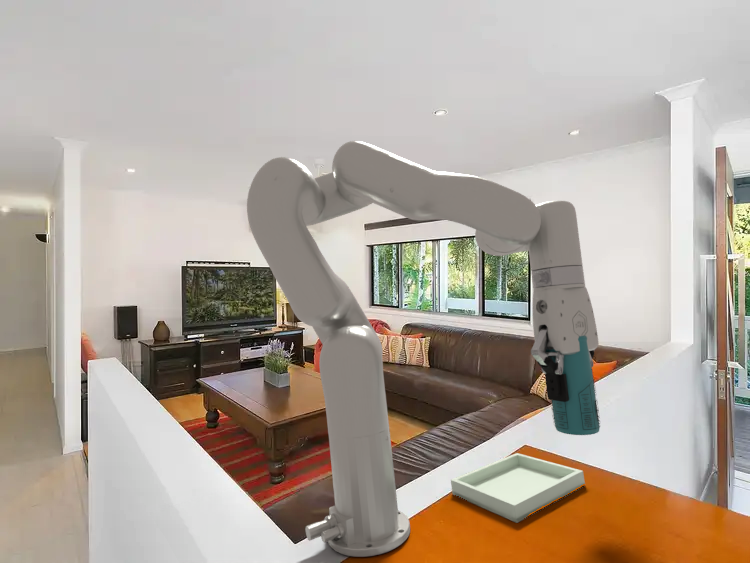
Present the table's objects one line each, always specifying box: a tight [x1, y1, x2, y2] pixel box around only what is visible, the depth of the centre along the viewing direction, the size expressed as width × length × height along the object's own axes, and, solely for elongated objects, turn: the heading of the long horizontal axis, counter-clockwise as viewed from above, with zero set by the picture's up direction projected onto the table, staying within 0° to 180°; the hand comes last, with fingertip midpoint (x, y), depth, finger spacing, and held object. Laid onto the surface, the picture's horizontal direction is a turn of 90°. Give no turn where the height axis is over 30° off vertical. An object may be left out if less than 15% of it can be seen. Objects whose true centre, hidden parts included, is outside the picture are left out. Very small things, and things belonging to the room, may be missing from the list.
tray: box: [450, 452, 586, 524], centre depth 71 cm, size 18×14×2 cm
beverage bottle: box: [549, 335, 601, 436], centre depth 63 cm, size 6×7×20 cm
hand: (571, 395), depth 62 cm, fingers closed on beverage bottle, 6 cm apart
